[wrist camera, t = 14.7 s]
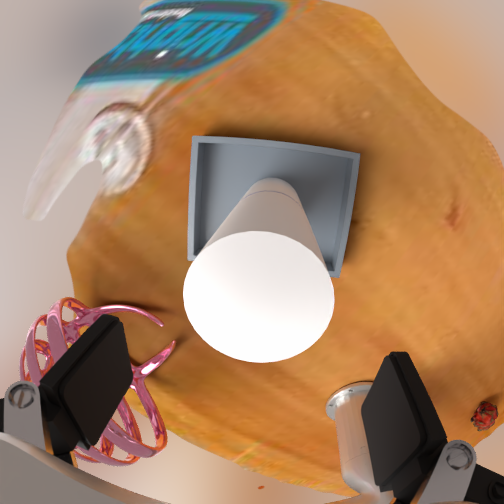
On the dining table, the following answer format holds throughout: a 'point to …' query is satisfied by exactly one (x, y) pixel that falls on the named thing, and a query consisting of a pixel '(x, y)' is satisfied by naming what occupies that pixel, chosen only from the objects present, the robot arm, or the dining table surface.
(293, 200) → the cylindrical container
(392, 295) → the dining table surface
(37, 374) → the spiral basket
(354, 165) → the tray
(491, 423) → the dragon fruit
